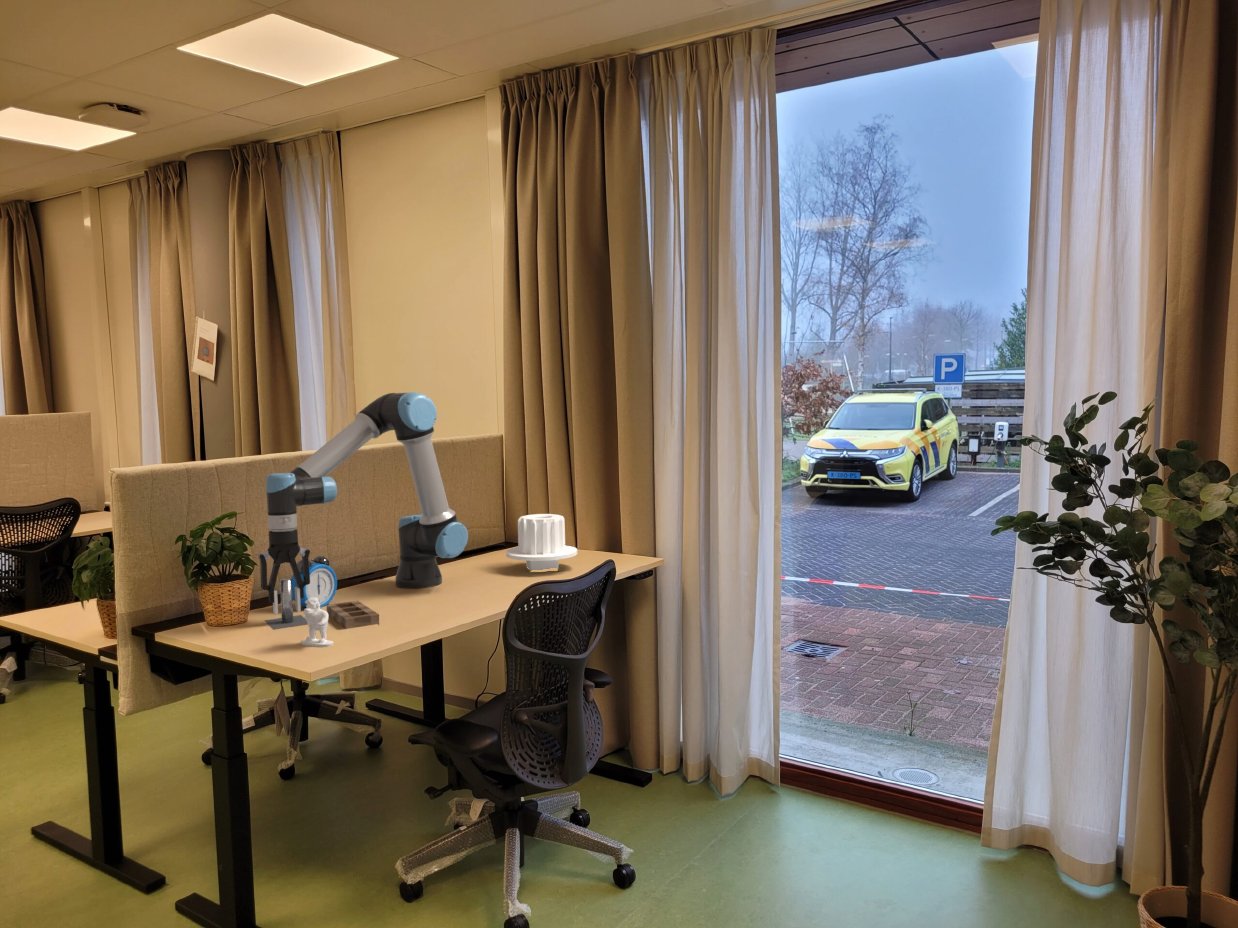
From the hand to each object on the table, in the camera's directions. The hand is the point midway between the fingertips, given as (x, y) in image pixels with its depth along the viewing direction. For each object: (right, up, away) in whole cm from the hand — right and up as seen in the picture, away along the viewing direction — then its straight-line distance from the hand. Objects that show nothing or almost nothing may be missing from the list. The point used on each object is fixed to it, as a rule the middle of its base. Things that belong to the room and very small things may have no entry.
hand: (287, 611), depth 252 cm
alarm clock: (+1, -2, +19) cm, 19 cm away
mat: (0, -3, 0) cm, 3 cm away
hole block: (+17, -3, +3) cm, 18 cm away
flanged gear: (+65, +3, +69) cm, 95 cm away
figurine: (+15, -5, -21) cm, 26 cm away
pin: (0, -3, 0) cm, 3 cm away
